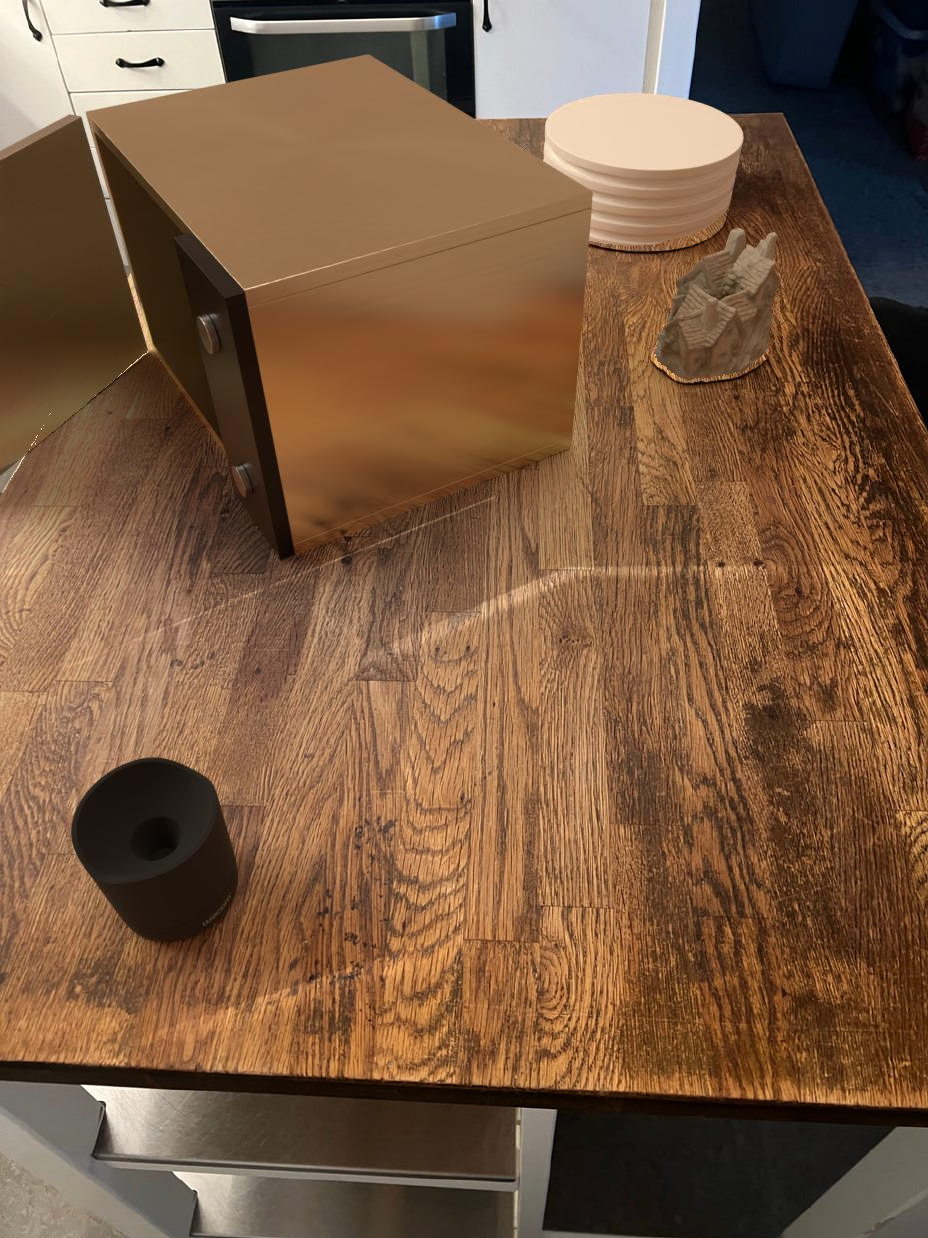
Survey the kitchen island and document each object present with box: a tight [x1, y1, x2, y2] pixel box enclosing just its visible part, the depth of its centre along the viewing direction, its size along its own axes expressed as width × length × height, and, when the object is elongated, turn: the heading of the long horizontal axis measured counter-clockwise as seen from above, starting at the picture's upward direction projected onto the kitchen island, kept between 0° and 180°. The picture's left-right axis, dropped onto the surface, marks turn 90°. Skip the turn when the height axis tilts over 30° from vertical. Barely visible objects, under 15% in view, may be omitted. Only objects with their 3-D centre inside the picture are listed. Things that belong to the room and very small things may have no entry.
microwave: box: [85, 53, 593, 561], centre depth 102 cm, size 35×44×28 cm
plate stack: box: [542, 92, 744, 246], centre depth 141 cm, size 28×28×12 cm
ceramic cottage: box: [652, 227, 782, 380], centre depth 114 cm, size 16×16×15 cm
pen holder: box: [70, 756, 239, 943], centre depth 67 cm, size 9×9×10 cm
